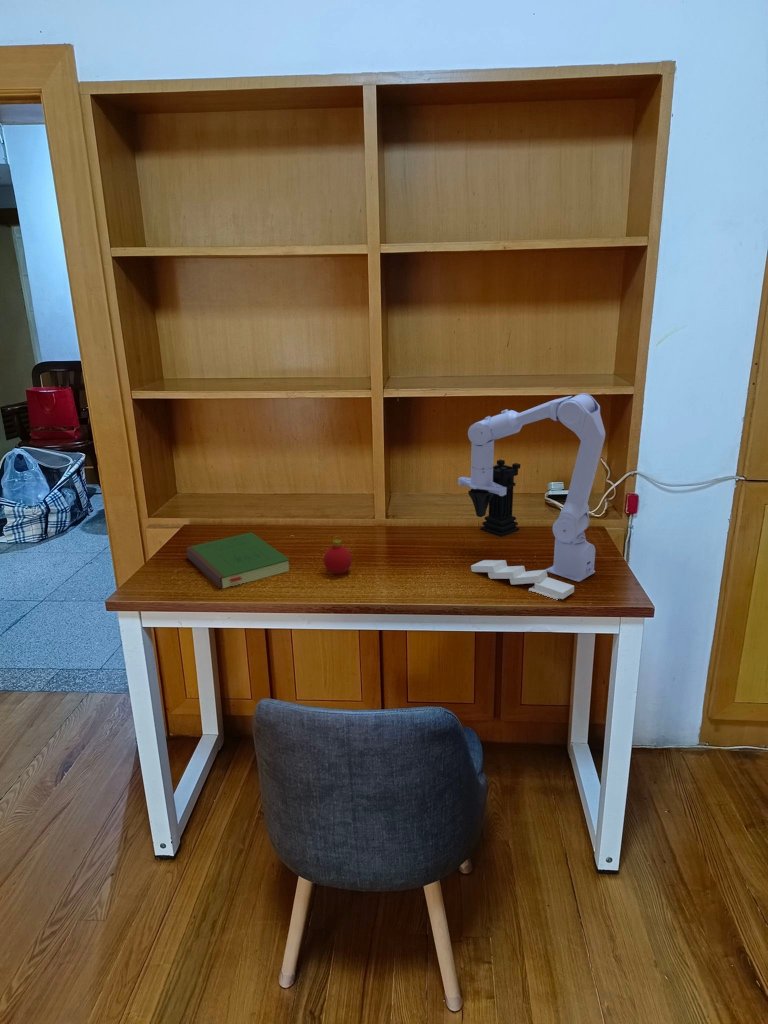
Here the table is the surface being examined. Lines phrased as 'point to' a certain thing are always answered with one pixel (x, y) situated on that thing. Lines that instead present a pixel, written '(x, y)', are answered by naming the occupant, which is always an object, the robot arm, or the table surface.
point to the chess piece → (502, 502)
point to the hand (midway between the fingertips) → (480, 515)
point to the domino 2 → (507, 572)
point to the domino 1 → (489, 566)
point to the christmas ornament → (337, 558)
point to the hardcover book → (237, 560)
